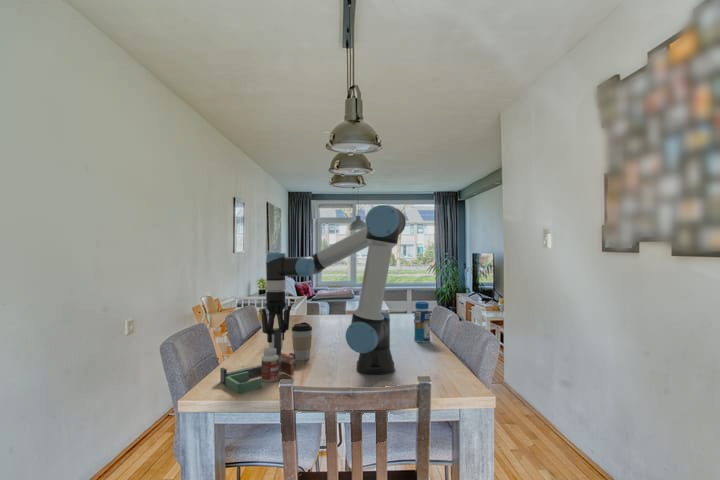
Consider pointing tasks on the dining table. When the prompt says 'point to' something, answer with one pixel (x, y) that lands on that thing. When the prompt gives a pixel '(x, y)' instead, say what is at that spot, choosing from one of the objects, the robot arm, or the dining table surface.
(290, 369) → the kicker
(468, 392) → the dining table surface
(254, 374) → the rail
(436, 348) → the dining table surface
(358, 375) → the dining table surface
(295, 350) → the coffee cup
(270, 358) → the pill bottle
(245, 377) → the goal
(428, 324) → the beverage bottle
